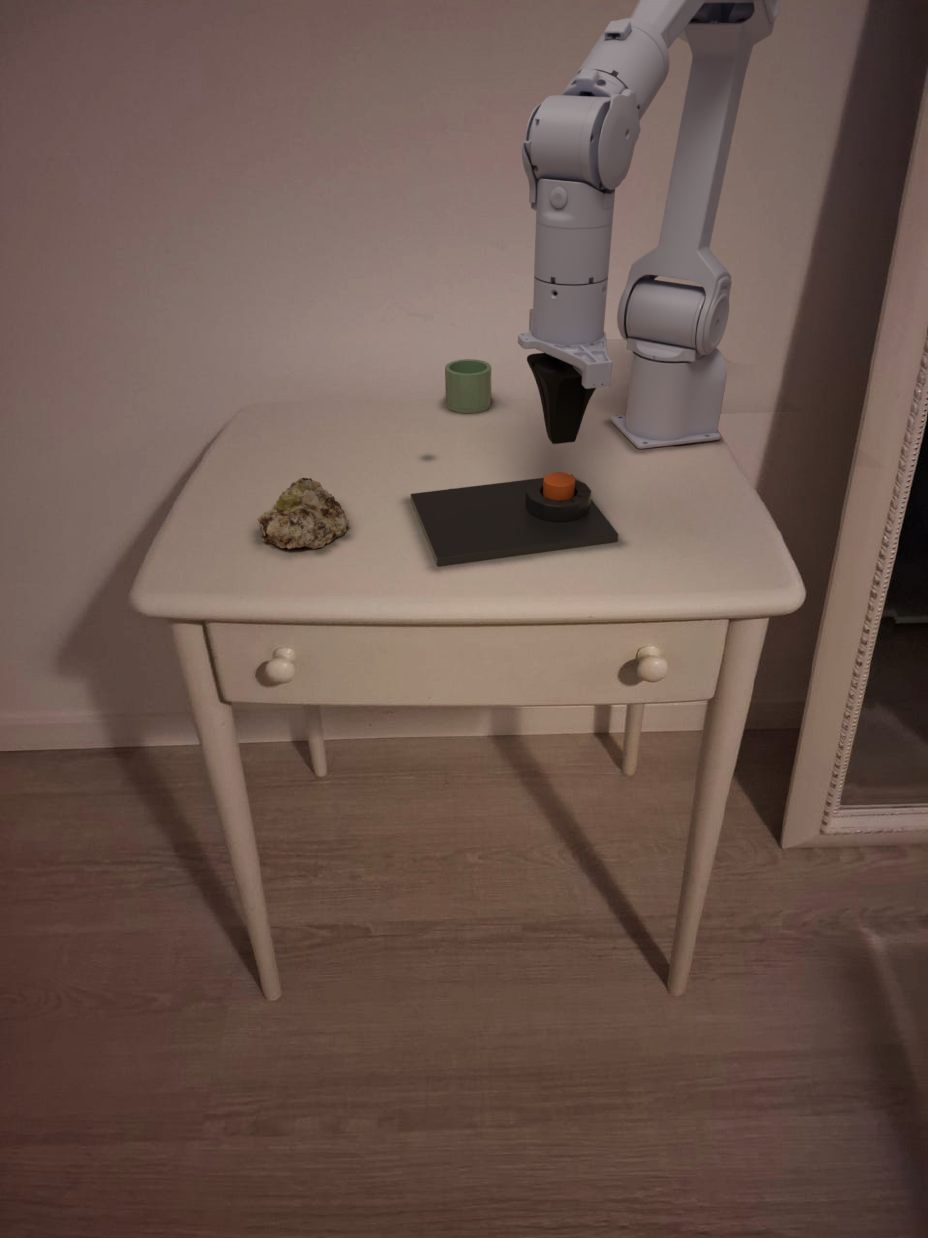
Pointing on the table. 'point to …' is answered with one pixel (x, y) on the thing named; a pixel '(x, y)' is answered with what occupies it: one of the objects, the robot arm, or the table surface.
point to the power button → (558, 486)
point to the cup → (468, 385)
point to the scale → (507, 521)
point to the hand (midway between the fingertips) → (561, 439)
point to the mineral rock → (303, 517)
